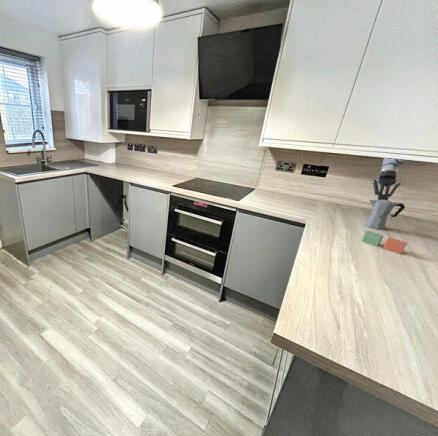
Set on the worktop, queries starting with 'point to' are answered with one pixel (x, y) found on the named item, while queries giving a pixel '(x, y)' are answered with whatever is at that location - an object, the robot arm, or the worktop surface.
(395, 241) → the pair of rectangular blocks
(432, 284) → the worktop surface
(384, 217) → the coffeepot
